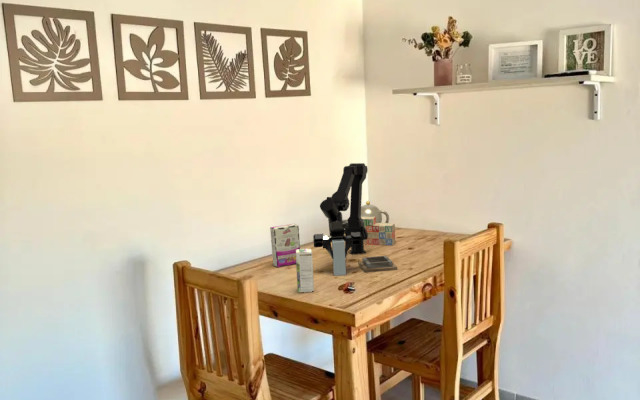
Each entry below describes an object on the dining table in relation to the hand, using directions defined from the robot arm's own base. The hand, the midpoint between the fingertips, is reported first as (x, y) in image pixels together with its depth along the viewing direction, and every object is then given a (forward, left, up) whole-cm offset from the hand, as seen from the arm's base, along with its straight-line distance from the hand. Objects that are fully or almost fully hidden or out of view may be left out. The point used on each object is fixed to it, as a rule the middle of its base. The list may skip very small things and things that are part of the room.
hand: (339, 258), depth 224 cm
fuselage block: (-1, 0, -7) cm, 7 cm away
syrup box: (+16, -15, -7) cm, 23 cm away
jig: (-6, +16, -7) cm, 19 cm away
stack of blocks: (-48, +23, -7) cm, 54 cm away
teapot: (-70, +28, -7) cm, 76 cm away
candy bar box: (-22, -19, -7) cm, 30 cm away
